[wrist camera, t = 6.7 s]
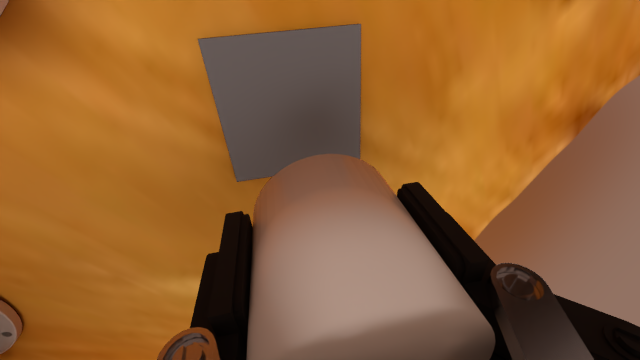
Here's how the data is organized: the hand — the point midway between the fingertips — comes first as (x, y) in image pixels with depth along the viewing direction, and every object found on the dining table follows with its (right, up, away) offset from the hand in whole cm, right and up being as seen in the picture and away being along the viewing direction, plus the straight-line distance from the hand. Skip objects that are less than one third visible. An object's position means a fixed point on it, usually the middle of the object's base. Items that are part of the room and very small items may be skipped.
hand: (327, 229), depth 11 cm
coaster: (-3, +8, +13) cm, 16 cm away
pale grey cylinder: (0, 0, +1) cm, 1 cm away
